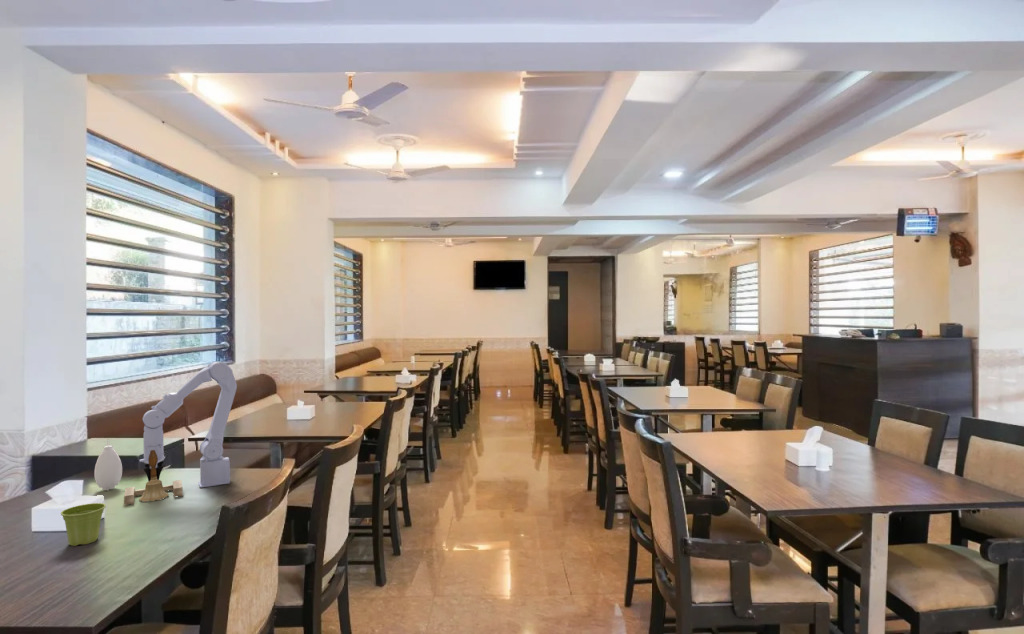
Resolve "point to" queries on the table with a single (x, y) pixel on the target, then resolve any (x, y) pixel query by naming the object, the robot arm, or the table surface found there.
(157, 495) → the hand bell
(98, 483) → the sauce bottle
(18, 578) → the table surface
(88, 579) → the table surface
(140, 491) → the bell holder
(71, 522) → the plant pot
